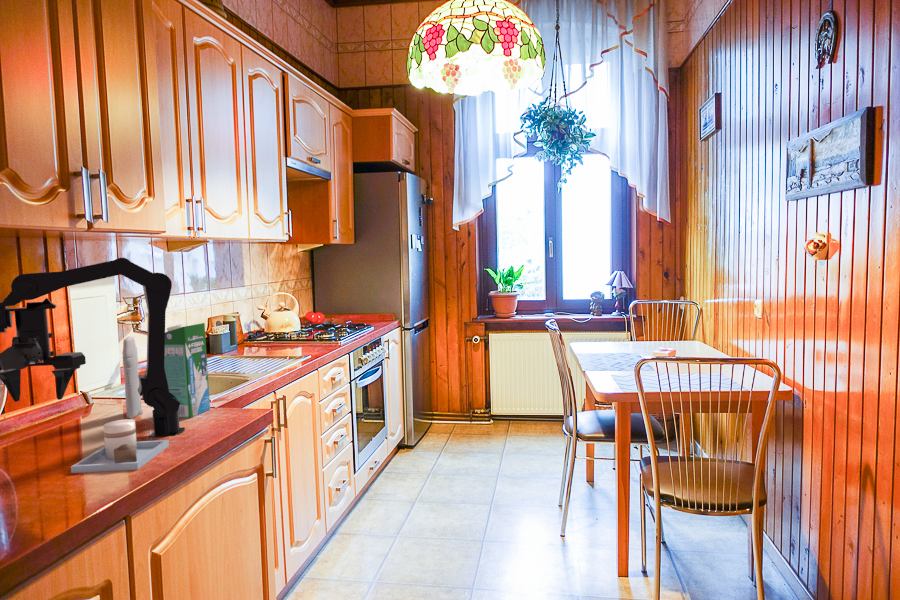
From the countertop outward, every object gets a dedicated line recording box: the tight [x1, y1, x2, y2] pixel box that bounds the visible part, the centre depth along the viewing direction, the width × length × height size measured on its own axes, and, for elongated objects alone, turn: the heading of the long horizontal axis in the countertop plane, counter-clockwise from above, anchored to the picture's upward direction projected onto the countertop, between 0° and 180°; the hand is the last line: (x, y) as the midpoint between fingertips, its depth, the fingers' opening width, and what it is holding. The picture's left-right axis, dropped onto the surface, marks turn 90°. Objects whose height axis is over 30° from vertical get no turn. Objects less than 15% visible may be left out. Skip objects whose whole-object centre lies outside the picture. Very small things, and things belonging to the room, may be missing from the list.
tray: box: [70, 439, 170, 474], centre depth 125 cm, size 15×13×2 cm
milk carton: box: [164, 322, 211, 419], centre depth 162 cm, size 9×9×25 cm
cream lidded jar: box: [102, 418, 138, 460], centre depth 127 cm, size 6×6×7 cm
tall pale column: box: [122, 336, 144, 419], centre depth 163 cm, size 11×4×22 cm, turn 16°
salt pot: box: [114, 444, 137, 463], centre depth 121 cm, size 4×4×4 cm
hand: (38, 400), depth 129 cm, fingers open, 9 cm apart
